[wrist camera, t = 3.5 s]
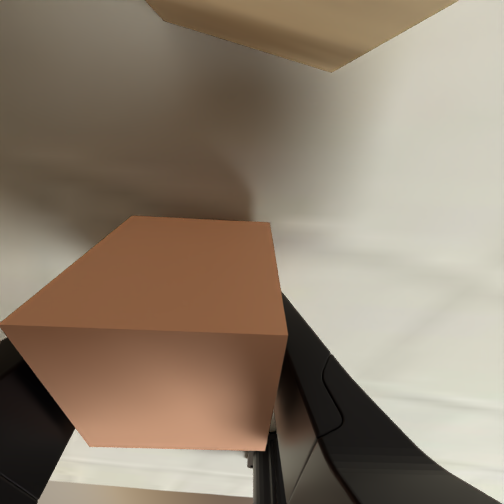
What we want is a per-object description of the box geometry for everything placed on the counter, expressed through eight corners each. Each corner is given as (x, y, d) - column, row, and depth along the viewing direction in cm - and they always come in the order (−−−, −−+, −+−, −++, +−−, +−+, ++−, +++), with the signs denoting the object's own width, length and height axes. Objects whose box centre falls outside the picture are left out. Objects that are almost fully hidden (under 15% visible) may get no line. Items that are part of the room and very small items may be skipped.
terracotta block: (260, 318, 11) (264, 451, 7) (154, 314, 11) (89, 446, 6) (269, 222, 8) (288, 335, 4) (131, 215, 8) (-2, 324, 4)
